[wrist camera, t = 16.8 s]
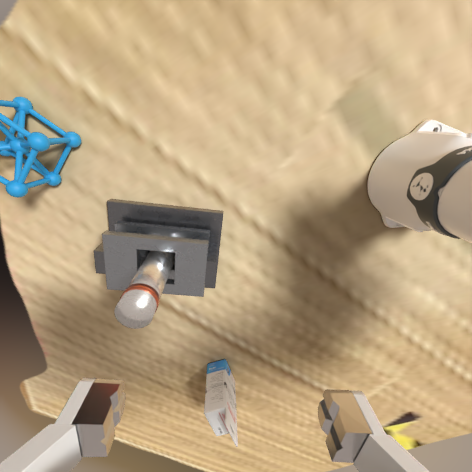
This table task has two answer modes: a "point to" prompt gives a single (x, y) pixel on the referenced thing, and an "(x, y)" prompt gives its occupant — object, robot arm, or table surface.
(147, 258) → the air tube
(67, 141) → the molecular structure
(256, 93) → the table surface
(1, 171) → the table surface
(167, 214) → the collar stand
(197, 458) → the table surface
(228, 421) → the ink box
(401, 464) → the robot arm
